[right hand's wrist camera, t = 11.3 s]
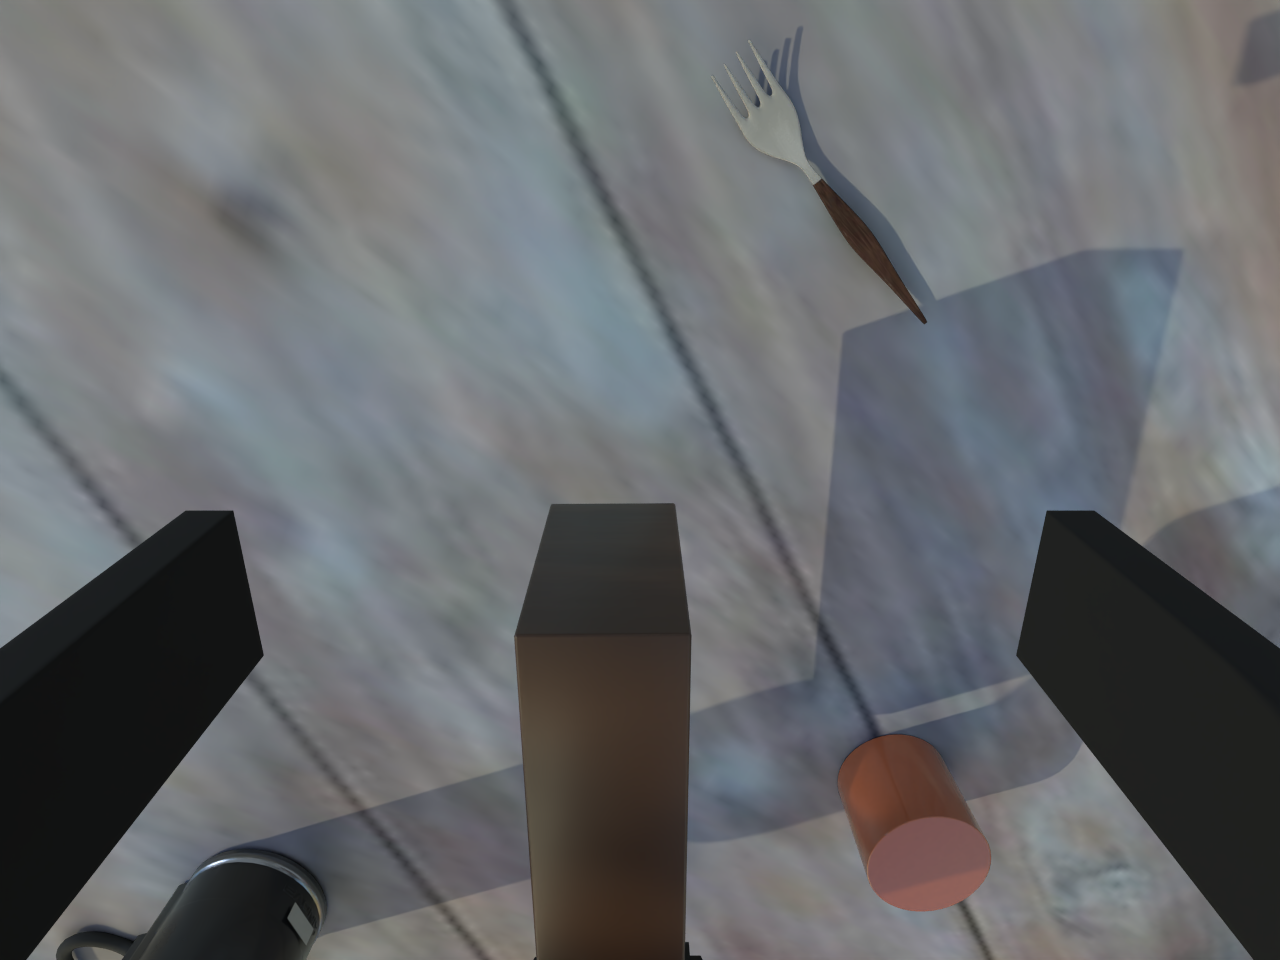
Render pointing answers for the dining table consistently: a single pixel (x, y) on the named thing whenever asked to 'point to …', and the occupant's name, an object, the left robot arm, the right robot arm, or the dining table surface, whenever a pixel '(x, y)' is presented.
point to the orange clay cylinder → (912, 824)
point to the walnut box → (606, 733)
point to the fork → (806, 168)
